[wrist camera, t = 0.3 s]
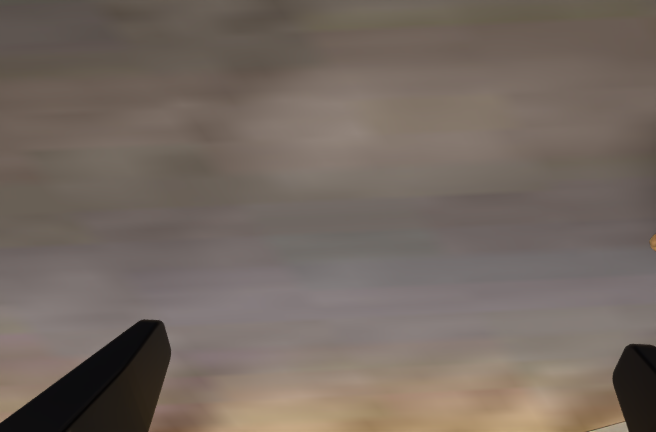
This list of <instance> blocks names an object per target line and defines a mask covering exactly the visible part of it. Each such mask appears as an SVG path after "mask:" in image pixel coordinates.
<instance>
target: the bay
mask: <svg viewBox="0 0 656 432" xmlns="http://www.w3.org/2000/svg"><path fill="white" fill-rule="evenodd" d="M589 432H629V431H628V428H627V425H626V422H622V423H619V424H615V425H611V426H608V427H604V428H600V429H597V430H593V431H589Z"/></svg>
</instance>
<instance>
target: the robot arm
mask: <svg viewBox="0 0 656 432" xmlns="http://www.w3.org/2000/svg"><path fill="white" fill-rule="evenodd" d="M170 357H171V347H170V344H169V340H168V337H167V333H166V329H165V326H164V324H163V322H162V321H160V320H145V319H144V320H141V321H139V322H137V323H136V324H134V325H133V326H132V327H130V328H129V329H128V330H126V331H125V332H123V333H122V334H121V335H119V336H118V337H117V338H115V339H114V340H113V341H111V342H110V343H109V344H107V345H106V346H104V347H103V348H102V349H100V350H99V351H98V352H96V353H95V354H94V355H92V356H91V357H90V358H88V359H87V360H85V361H84V362H83V363H81V364H80V365H79V366H77V367H76V368H75V369H73V370H72V371H70V372H69V373H68V374H66V375H65V376H64V377H62V378H61V379H60V380H58V381H57V382H56V383H54V384H53V385H51V386H50V387H49V388H47V389H46V390H45V391H43V392H42V393H41V394H39V395H38V396H37V397H35V398H34V399H32V400H31V401H30V402H28V403H27V404H26V405H24V406H23V407H22V408H20V409H19V410H18V411H16V412H15V413H13V414H12V415H11V416H9V417H8V418H7V419H5V420H4V421H3V422H1V423H0V432H148V431H149V428H150V425H151V422H152V418H153V415H154V412H155V408H156V405H157V402H158V398H159V395H160V392H161V388H162V385H163V382H164V378H165V375H166V372H167V368H168V365H169V362H170ZM613 385H614V389H615V392H616V395H617V398H618V401H619V404H620V407H621V410H622V413H623V416H624V419H625V422H626V425H627V428H628V431H629V432H656V347H655V346H653V345H645V344H629V345H628V346H626V347H625V349H624V351H623V353H622V355H621V357H620V359H619V361H618V363H617V365H616V367H615V369H614V372H613Z"/></svg>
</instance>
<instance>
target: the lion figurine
mask: <svg viewBox="0 0 656 432" xmlns="http://www.w3.org/2000/svg"><path fill="white" fill-rule="evenodd" d="M650 245H651V248H652V249H653V250H655V251H656V234H655V235H654V236H653V237H652V238H651V239H650Z"/></svg>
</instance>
